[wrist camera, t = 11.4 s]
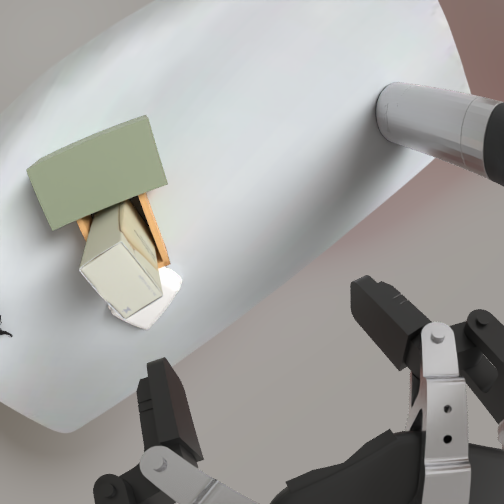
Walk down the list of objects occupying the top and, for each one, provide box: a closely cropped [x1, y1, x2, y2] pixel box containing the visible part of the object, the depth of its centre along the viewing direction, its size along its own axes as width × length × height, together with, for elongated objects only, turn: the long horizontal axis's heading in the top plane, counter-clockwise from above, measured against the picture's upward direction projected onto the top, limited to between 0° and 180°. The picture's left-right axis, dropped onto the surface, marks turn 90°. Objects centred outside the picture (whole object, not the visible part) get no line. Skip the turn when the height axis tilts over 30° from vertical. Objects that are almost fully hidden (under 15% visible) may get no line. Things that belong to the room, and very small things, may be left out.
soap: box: [108, 267, 182, 330], centre depth 37 cm, size 9×7×3 cm
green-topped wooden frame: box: [26, 115, 170, 269], centre depth 29 cm, size 12×15×5 cm
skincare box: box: [79, 199, 163, 320], centre depth 28 cm, size 6×4×12 cm
